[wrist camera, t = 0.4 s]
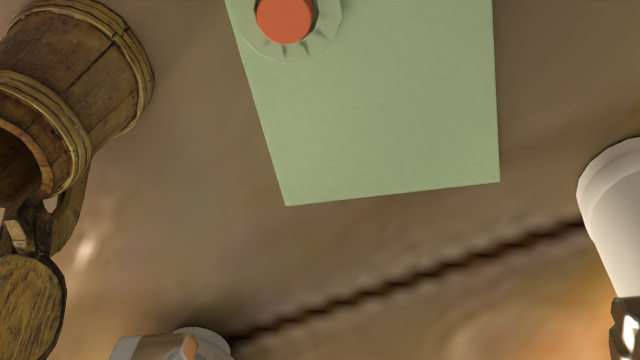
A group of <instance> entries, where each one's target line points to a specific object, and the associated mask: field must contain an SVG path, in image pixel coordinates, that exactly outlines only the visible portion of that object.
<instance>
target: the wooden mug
mask: <svg viewBox="0 0 640 360" xmlns="http://www.w3.org/2000/svg"><path fill="white" fill-rule="evenodd" d="M153 80H154V78H153V75H152V72H151V69H150V66H149V61H148V59H147V56H146V54H145V52H144V49H143V48H142V46H141V45H140V43H139V42H138V40H137V39H136V37H135V36H134V34H133V33H132V32H131V31H130V29H129V28H128V27H127V26H126V24H125V23H124V22H123V21H122V20H121V18H119V17H118V16H116V15H115V14H114V13H112V12H111V11H109V10H108V9H106V8H105V7H104V6H102V5H101V4H98V3H95V2H92V1H89V0H37V1H35V2H33V3H30V4H28V5H27V6H26V7H25V8H24V9H23V10H22V11H21V12H20V13H19V14H18V15H17V16H16V17H15V19H14V20H13V21H12V23H11V24H10V26H9V27H8V29H7V32H6V34H5V37H4V38H3V39H2V40H1V42H0V207H2V208H6V209H5V212H4V217H3V220H2V223H1V227H0V360H46V359H47V357H48V356H49V354H50V353H51V352H52V350H53V349H54V347H55V346H56V344H57V341H58V338H59V335H60V332H61V329H62V326H63V319H64V313H65V307H66V298H67V288H66V283H65V278H64V275H63V274H62V272H61V271H60V269H59V268H58V266H57V265H56V264H55V263H54V262H53V261H52V260H51V259H50V257H52V256H53V255H55V254H56V253H58V252H59V251H60V250H61V249H62V248H63V246H64V245H65V244H66V243H67V241H68V240H69V239H70V237H71V235H72V233H73V231H74V229H75V226H76V224H77V222H78V219H79V216H80V212H81V208H82V204H83V200H84V195H85V190H86V184H87V179H88V173H89V169H90V164H91V160H92V158H93V156H94V154H95V153H96V152H97V151H98V150H99V149H100V148H102V147H103V146H104V145H105V144H106V143H107V142H108V141H109V140H110V139H113V138H116V137H119V136H121V135H122V134H124V133H125V132H126V131H128V130H129V129H130V128H132V127H133V126H134V124H135V123H136V122H137V120H138V119H139V117H140V116H141V115H142V113H143V112H144V110H145V109H146V108H147V106H148V105H149V104H150V102H151V95H152V88H153ZM56 195H58V200H57V207H56V208H55V210H54V211H53V212H52V213H48V212H47V210H46V208H45V207H44V204H43V200H44V199H49V198H51V197H53V196H56Z"/></svg>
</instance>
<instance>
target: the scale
mask: <svg viewBox="0 0 640 360" xmlns="http://www.w3.org/2000/svg"><path fill="white" fill-rule="evenodd" d="M224 1H225V4H226V8H227V11H228V14H229V18H230V21H231V24H232V28H233V31H234V34H235V38H236V41H237V44H238V48H239V51H240V54H241V58H242V61H243V64H244V68H245V71H246V74H247V78H248V81H249V85H250V88H251V91H252V95H253V98H254V101H255V105H256V108H257V111H258V115H259V118H260V121H261V125H262V128H263V131H264V135H265V138H266V141H267V145H268V148H269V151H270V155H271V158H272V161H273V165H274V168H275V171H276V175H277V178H278V182H279V185H280V188H281V192H282V195H283V198H284V202H285V205H286V206H293V205H301V204H310V203H319V202H328V201H336V200H345V199H354V198H362V197H371V196H380V195H389V194H397V193H406V192H415V191H424V190H432V189H441V188H450V187H458V186H467V185H476V184H485V183H493V182H500V171H499V149H498V126H497V104H496V81H495V58H494V36H493V13H492V0H312V3H313V8H314V13H313V18H312V22H311V26H310V29H309V31H308V33H307V34H306V35H305V36H304V37H303V38H302V39H301V40H299V41H297V42H295V43H291V44H280V43H276V42H274V41H272V40H270V39H269V38H267V37H266V36H265V35H264V34H263V32H262V31H261V29H260V28H259V25H258V22H257V8H258V6H259V3H260V1H261V0H224Z"/></svg>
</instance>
